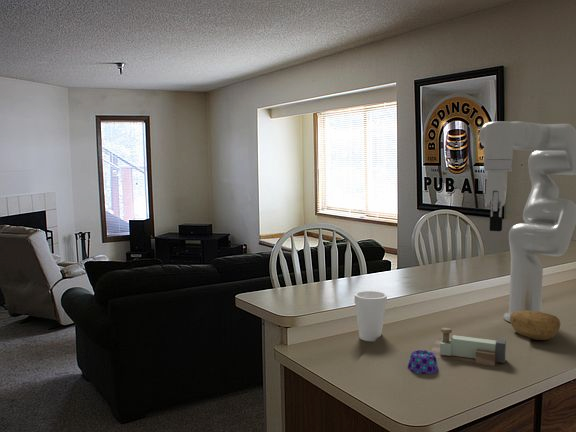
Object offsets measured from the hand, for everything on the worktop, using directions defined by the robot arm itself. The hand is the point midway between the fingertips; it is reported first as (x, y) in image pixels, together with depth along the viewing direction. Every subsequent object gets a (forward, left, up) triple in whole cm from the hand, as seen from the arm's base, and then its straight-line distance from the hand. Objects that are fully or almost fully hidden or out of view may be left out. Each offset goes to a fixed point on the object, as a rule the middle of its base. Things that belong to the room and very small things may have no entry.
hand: (495, 230), depth 160 cm
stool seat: (+16, -6, -32) cm, 36 cm away
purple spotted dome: (+32, -14, -33) cm, 48 cm away
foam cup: (+12, -33, -32) cm, 48 cm away
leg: (+20, -3, -31) cm, 37 cm away
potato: (-6, +11, -32) cm, 35 cm away
